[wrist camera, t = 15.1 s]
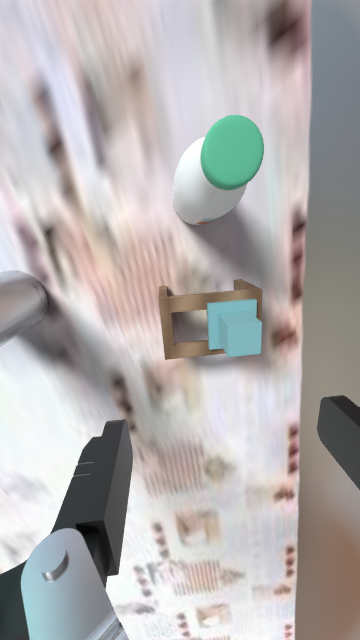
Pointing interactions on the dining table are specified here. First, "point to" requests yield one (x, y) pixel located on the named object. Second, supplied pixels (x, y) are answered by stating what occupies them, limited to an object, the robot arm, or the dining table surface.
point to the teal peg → (234, 327)
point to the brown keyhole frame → (199, 303)
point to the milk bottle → (217, 170)
